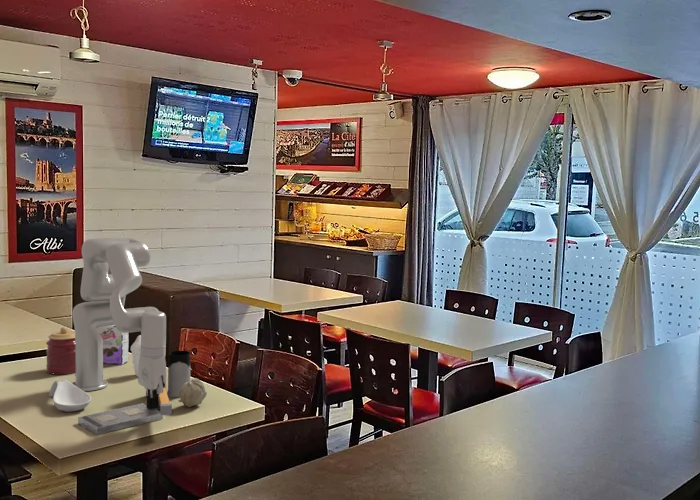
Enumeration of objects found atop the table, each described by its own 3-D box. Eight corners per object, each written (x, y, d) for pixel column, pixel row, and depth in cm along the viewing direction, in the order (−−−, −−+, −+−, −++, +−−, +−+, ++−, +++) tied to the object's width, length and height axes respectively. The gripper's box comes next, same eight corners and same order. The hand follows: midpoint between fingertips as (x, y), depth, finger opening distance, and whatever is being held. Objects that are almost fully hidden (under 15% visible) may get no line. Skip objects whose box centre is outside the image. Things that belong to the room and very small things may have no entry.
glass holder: (166, 397, 242) (166, 356, 240) (168, 386, 256) (168, 346, 254) (191, 396, 244) (191, 355, 242) (192, 385, 257) (192, 346, 256)
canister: (73, 375, 266) (73, 331, 264) (40, 374, 266) (39, 330, 264) (86, 367, 279) (86, 324, 277) (55, 366, 279) (54, 323, 277)
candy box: (91, 362, 285) (91, 324, 284) (99, 359, 291) (98, 321, 290) (122, 365, 283) (122, 326, 282) (129, 361, 289) (129, 323, 287)
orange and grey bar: (160, 415, 204) (160, 406, 204) (154, 392, 227) (154, 383, 227) (172, 414, 205) (172, 405, 205) (165, 391, 228) (165, 383, 228)
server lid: (78, 423, 213) (78, 416, 213) (142, 408, 229) (142, 402, 228) (97, 434, 204) (97, 427, 204) (162, 418, 220) (162, 411, 219)
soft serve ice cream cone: (156, 374, 270) (156, 335, 269) (140, 379, 263) (140, 338, 262) (142, 371, 275) (142, 332, 273) (125, 375, 268) (125, 335, 266)
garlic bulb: (206, 402, 238) (206, 374, 237) (206, 410, 230) (207, 381, 229) (178, 403, 236) (178, 375, 235) (177, 411, 228) (178, 381, 227)
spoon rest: (96, 411, 226) (96, 389, 225) (59, 417, 218) (59, 396, 218) (72, 393, 244) (72, 374, 243) (37, 399, 236) (37, 379, 236)
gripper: (130, 348, 214) (129, 404, 216) (154, 358, 204) (153, 417, 206) (152, 344, 220) (151, 399, 222) (176, 354, 209) (175, 412, 211)
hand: (152, 408), depth 214 cm, fingers closed
